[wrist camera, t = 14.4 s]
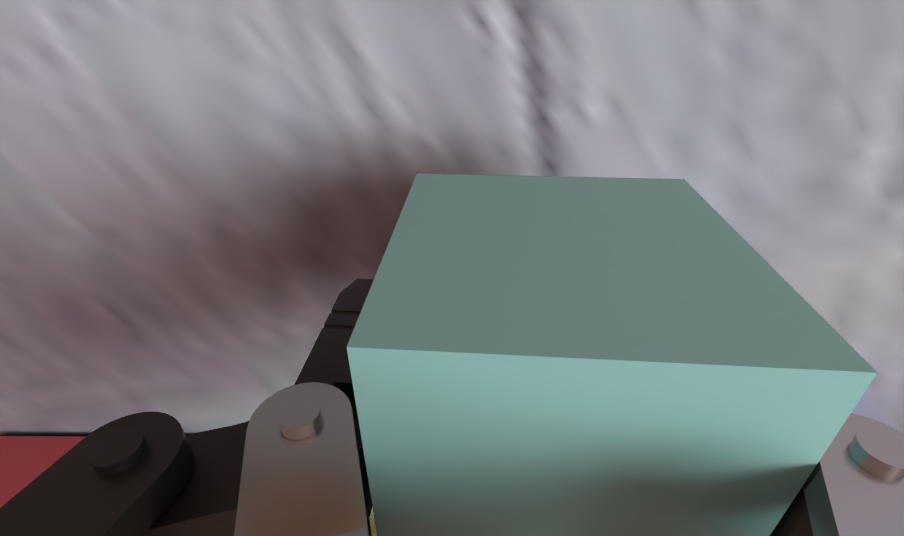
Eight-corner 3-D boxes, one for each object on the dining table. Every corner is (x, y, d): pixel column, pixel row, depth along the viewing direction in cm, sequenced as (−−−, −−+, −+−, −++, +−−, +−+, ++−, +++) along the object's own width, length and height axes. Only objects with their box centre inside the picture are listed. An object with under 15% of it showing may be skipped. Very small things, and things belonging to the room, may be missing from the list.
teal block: (684, 179, 8) (878, 372, 4) (629, 375, 11) (716, 616, 7) (416, 173, 9) (346, 347, 5) (425, 365, 11) (386, 589, 7)
